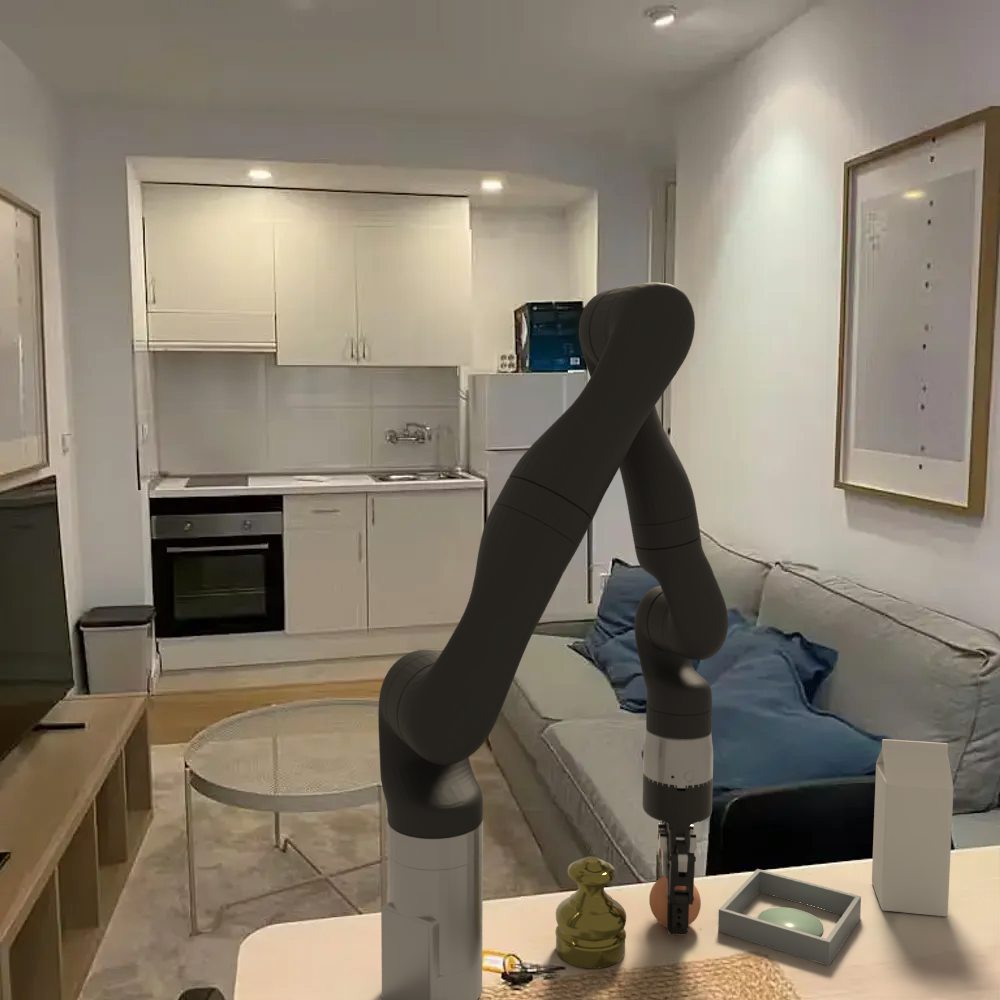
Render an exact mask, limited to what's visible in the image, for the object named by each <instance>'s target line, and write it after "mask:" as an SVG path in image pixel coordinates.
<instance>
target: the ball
mask: <svg viewBox="0 0 1000 1000" xmlns="http://www.w3.org/2000/svg"><path fill="white" fill-rule="evenodd" d="M675 889H677V890H685V886H676V887H675ZM666 893H667V879H666V878H665V877H664V876H663V875H662V877H660V878H658V879H657V880H656V881H655V882H654V884H653V885H652V887H651V890H650V893H649V897H648V899H649V906H650V911H651V913H652V914H653V916H654V918H655V919H656V921H658V923H660V924H661V925H663V926H664V927H666V928H667V903H668V901H667V898H666ZM693 896H694V901H693V905H690V904H689V923H688V926H690V925H691V924H692V923H694V922H695V921H696V919H697V918H698V916H699V914H700V911H701V907H702V905H701V903H702V902H701V896H700V892H699V890H698V887H696V885H695V884H694V888H693Z"/></svg>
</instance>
